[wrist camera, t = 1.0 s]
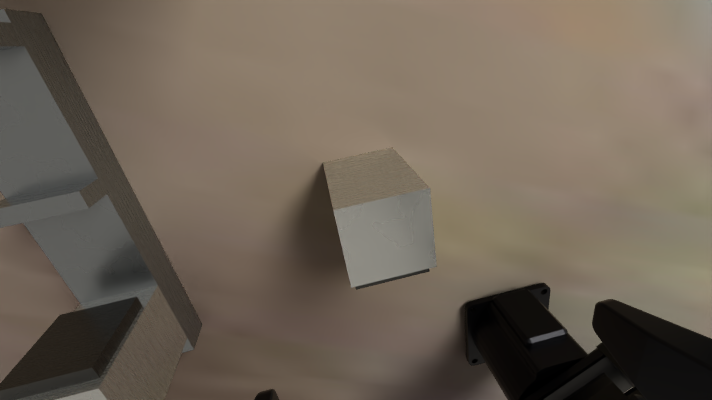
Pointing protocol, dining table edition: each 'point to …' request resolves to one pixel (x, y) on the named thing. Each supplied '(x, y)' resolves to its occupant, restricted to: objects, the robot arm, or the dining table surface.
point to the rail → (82, 236)
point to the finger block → (381, 217)
